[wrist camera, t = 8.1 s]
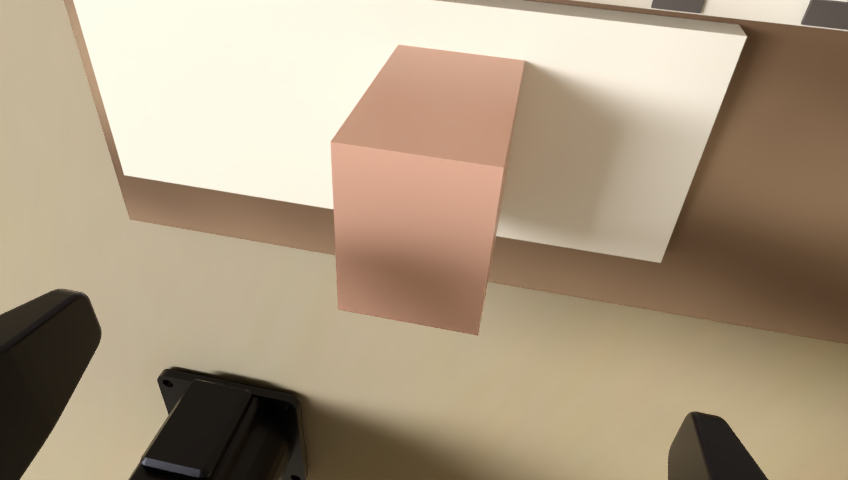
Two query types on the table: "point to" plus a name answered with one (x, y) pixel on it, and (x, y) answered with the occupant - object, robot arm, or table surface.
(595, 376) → the table surface
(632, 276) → the brown flat board
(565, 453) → the table surface
